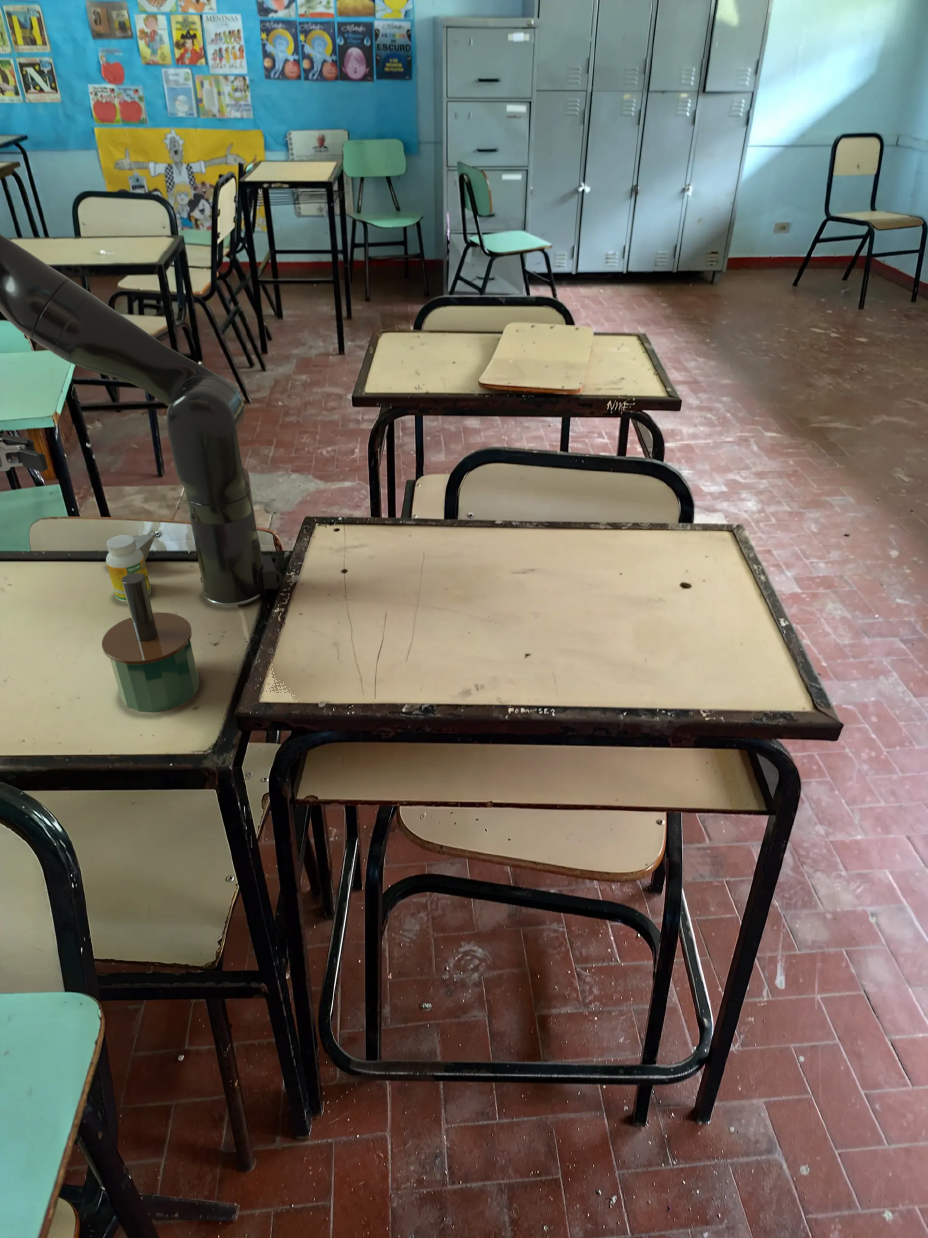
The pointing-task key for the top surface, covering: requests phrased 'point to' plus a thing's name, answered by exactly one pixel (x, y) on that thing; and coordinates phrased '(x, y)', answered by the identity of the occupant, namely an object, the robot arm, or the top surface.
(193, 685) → the canister
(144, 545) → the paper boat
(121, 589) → the supplement bottle
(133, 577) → the lid
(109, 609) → the top surface
